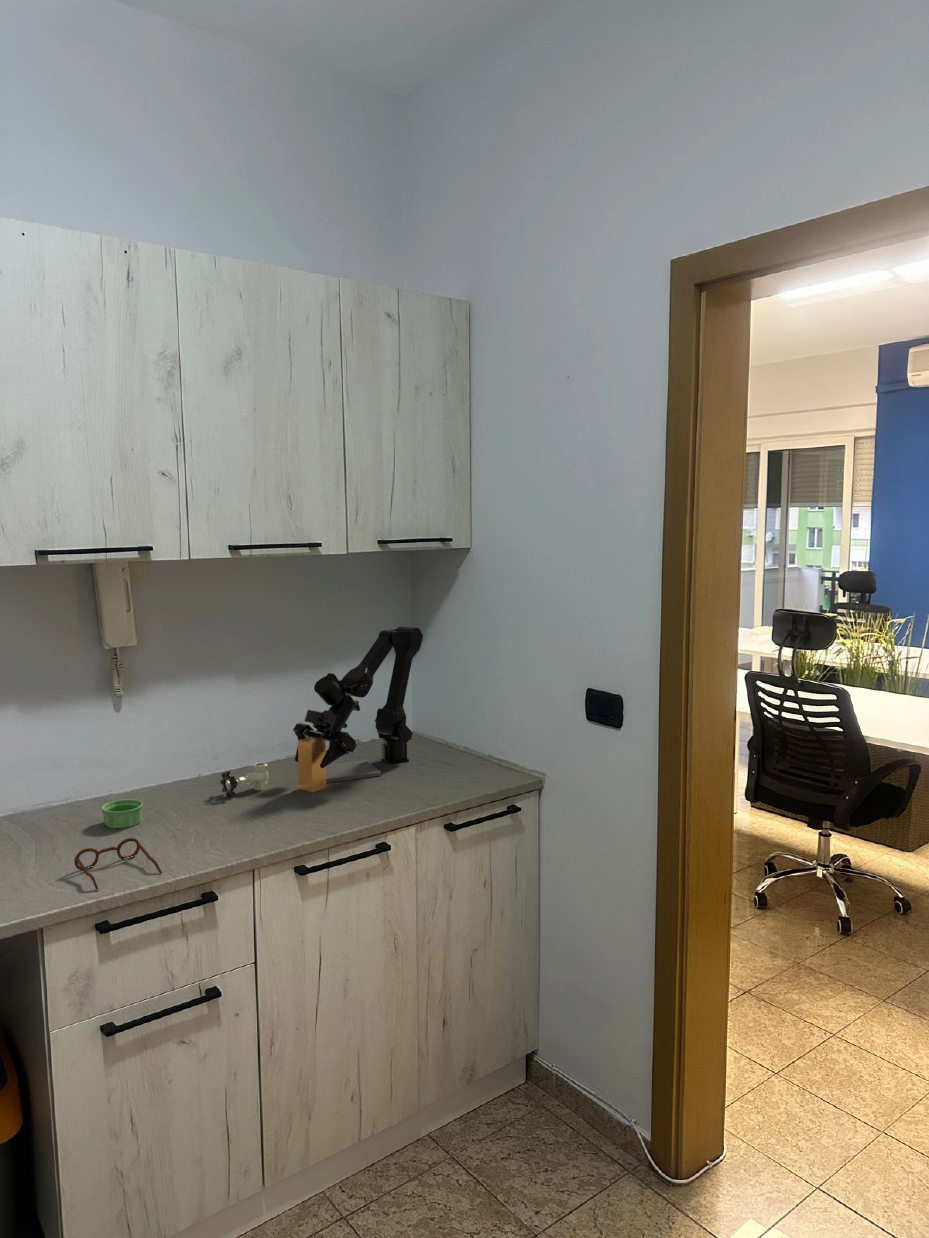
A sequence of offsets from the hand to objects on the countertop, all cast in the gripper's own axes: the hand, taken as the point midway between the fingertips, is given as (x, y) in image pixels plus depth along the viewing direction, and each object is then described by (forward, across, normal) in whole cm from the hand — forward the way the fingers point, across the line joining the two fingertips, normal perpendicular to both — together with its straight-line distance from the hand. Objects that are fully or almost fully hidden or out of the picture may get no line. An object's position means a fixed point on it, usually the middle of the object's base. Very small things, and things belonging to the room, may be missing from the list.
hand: (308, 764), depth 231 cm
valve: (+12, -12, -2) cm, 17 cm away
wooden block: (+4, 0, +6) cm, 7 cm away
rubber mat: (-7, -2, +16) cm, 18 cm away
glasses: (+48, +8, -37) cm, 61 cm away
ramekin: (+36, -17, -25) cm, 47 cm away
